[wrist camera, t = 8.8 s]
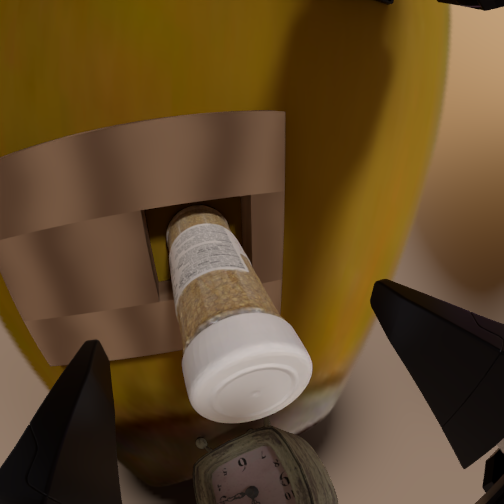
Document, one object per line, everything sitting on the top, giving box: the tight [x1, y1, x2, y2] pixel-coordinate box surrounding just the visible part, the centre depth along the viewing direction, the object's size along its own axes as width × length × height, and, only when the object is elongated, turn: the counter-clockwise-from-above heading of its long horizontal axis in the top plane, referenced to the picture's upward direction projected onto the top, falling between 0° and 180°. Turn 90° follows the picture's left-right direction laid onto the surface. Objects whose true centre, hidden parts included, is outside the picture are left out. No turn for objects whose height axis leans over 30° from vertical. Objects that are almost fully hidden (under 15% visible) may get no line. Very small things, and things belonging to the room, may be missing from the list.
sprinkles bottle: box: [166, 205, 312, 423], centre depth 15 cm, size 5×5×13 cm
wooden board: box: [0, 110, 285, 366], centre depth 18 cm, size 20×17×2 cm
